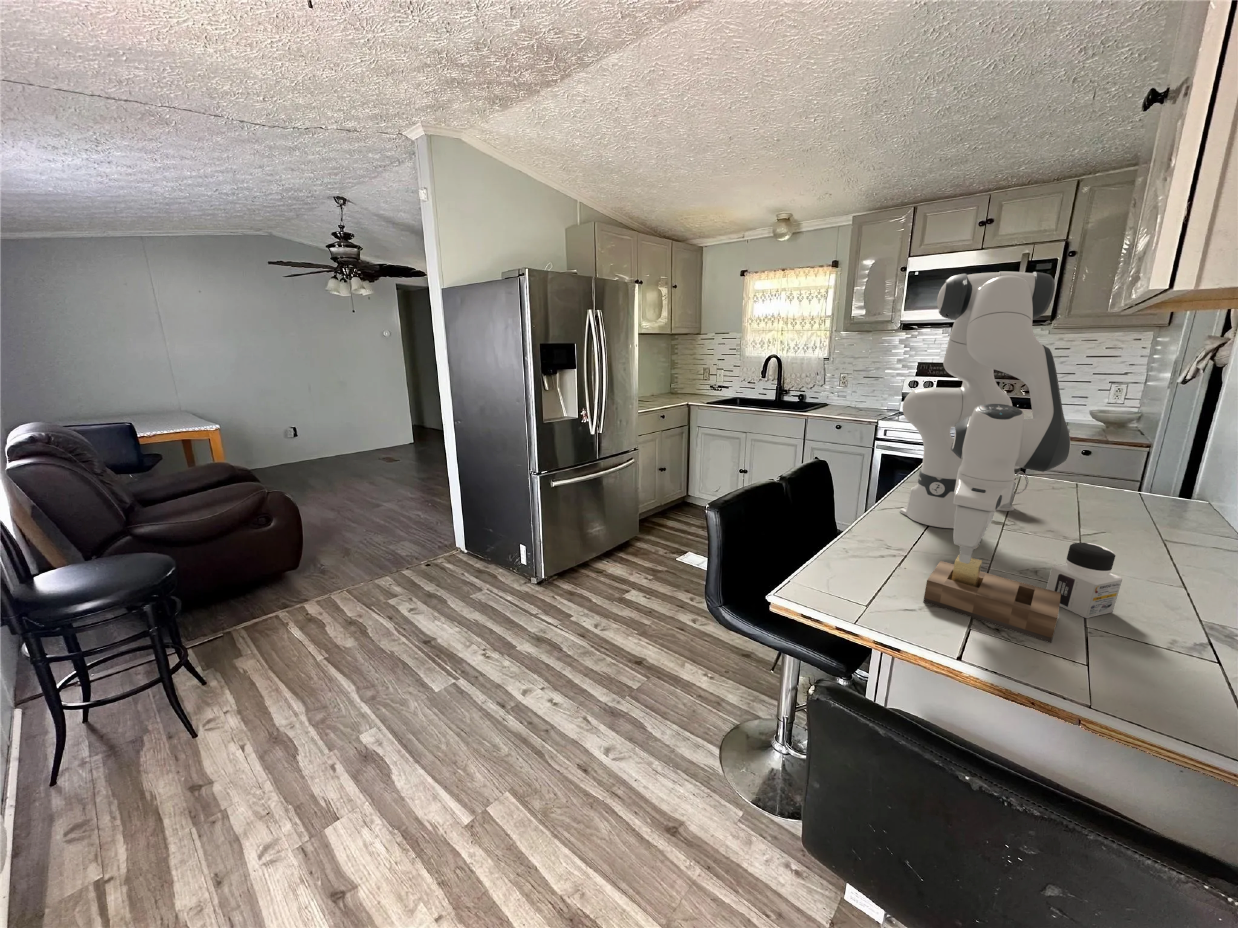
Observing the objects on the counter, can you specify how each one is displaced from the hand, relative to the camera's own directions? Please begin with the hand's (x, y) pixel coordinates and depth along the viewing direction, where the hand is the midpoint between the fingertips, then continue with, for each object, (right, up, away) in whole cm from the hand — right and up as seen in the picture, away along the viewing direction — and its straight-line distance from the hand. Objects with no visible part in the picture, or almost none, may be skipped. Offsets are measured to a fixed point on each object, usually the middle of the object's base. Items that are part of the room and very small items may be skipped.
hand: (969, 553), depth 98 cm
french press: (+51, +4, +58) cm, 77 cm away
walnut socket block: (+3, -11, -1) cm, 11 cm away
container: (+22, -11, 0) cm, 25 cm away
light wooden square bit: (0, -9, +2) cm, 9 cm away
